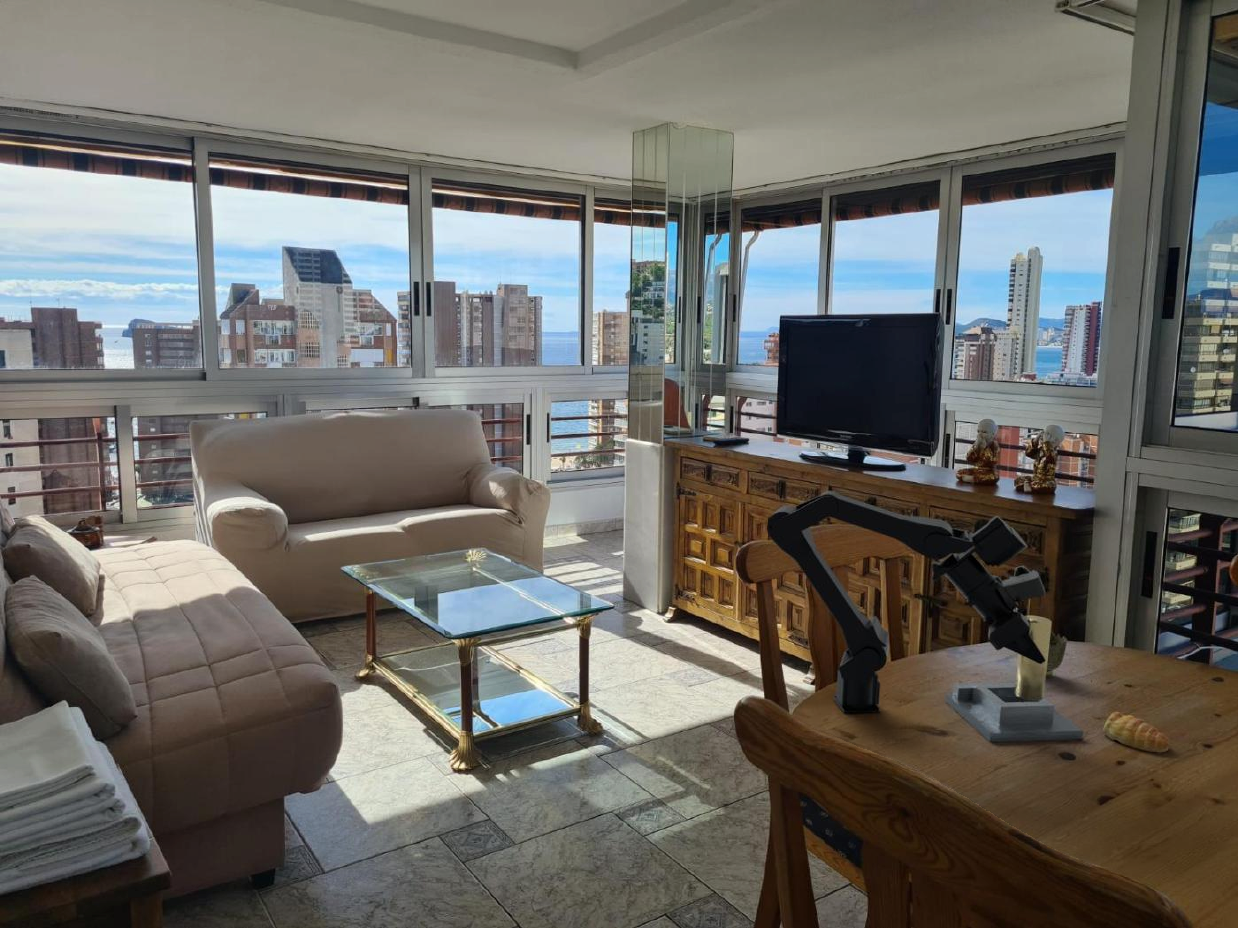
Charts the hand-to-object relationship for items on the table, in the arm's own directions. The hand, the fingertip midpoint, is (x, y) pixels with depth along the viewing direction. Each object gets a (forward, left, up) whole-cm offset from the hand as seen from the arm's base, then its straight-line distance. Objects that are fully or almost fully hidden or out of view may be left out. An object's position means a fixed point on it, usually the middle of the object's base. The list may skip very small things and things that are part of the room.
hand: (1042, 657), depth 149 cm
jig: (-1, +6, -13) cm, 15 cm away
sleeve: (-1, +1, -7) cm, 7 cm away
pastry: (+16, -3, -14) cm, 21 cm away
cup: (+16, +25, -14) cm, 32 cm away
